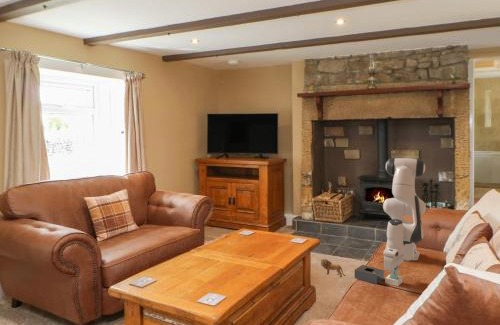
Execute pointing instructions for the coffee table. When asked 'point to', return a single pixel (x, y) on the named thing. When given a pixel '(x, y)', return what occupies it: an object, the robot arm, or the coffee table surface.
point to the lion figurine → (331, 266)
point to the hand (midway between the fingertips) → (394, 273)
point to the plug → (395, 274)
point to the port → (369, 274)
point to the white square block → (394, 280)
